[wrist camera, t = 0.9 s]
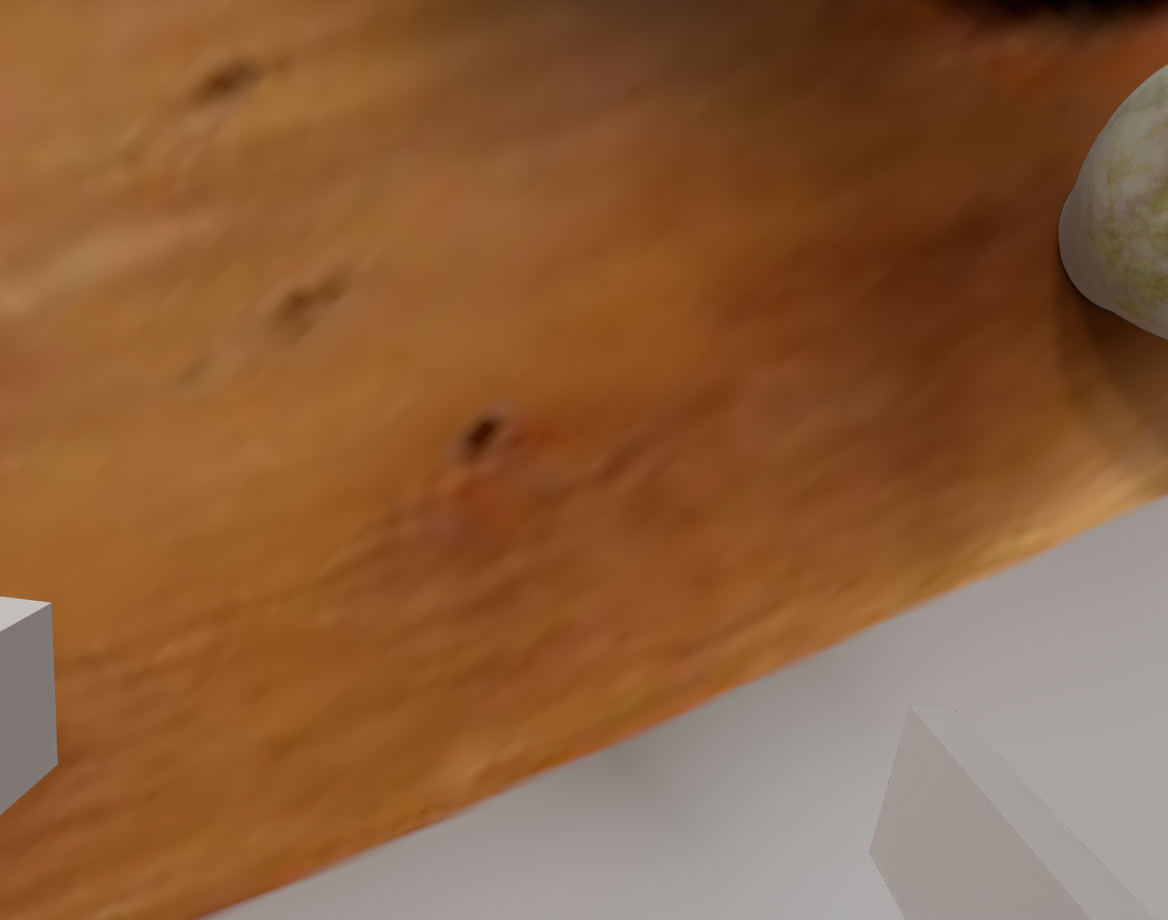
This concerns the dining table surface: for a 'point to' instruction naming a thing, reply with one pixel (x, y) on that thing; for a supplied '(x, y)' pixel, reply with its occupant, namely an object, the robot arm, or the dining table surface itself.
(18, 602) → the robot arm
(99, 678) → the dining table surface
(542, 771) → the dining table surface
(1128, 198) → the sugar bowl
